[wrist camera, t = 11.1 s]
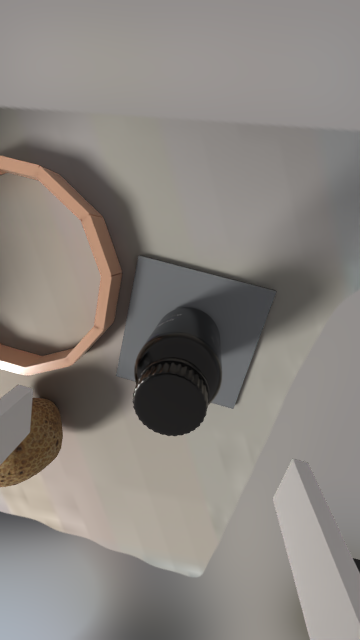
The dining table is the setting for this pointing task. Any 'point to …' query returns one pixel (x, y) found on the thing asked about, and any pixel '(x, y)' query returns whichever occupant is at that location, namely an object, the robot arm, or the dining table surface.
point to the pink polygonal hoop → (103, 256)
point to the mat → (206, 295)
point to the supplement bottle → (178, 372)
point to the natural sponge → (34, 445)
